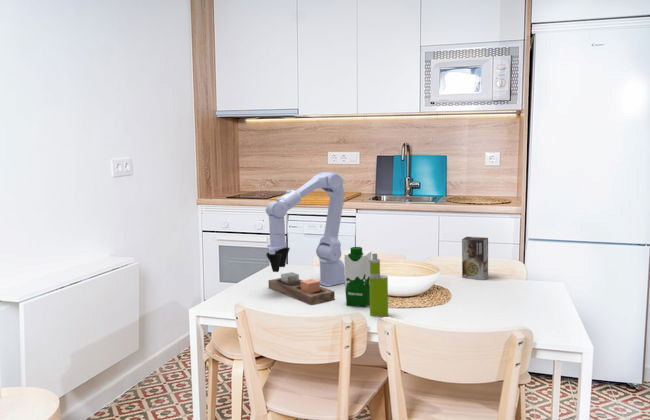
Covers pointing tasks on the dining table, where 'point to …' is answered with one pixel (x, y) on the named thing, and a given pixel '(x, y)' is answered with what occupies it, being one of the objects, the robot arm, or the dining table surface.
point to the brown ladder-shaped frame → (302, 292)
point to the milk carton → (357, 277)
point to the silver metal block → (290, 278)
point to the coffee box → (475, 258)
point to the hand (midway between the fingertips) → (279, 269)
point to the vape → (378, 289)
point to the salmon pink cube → (310, 285)
